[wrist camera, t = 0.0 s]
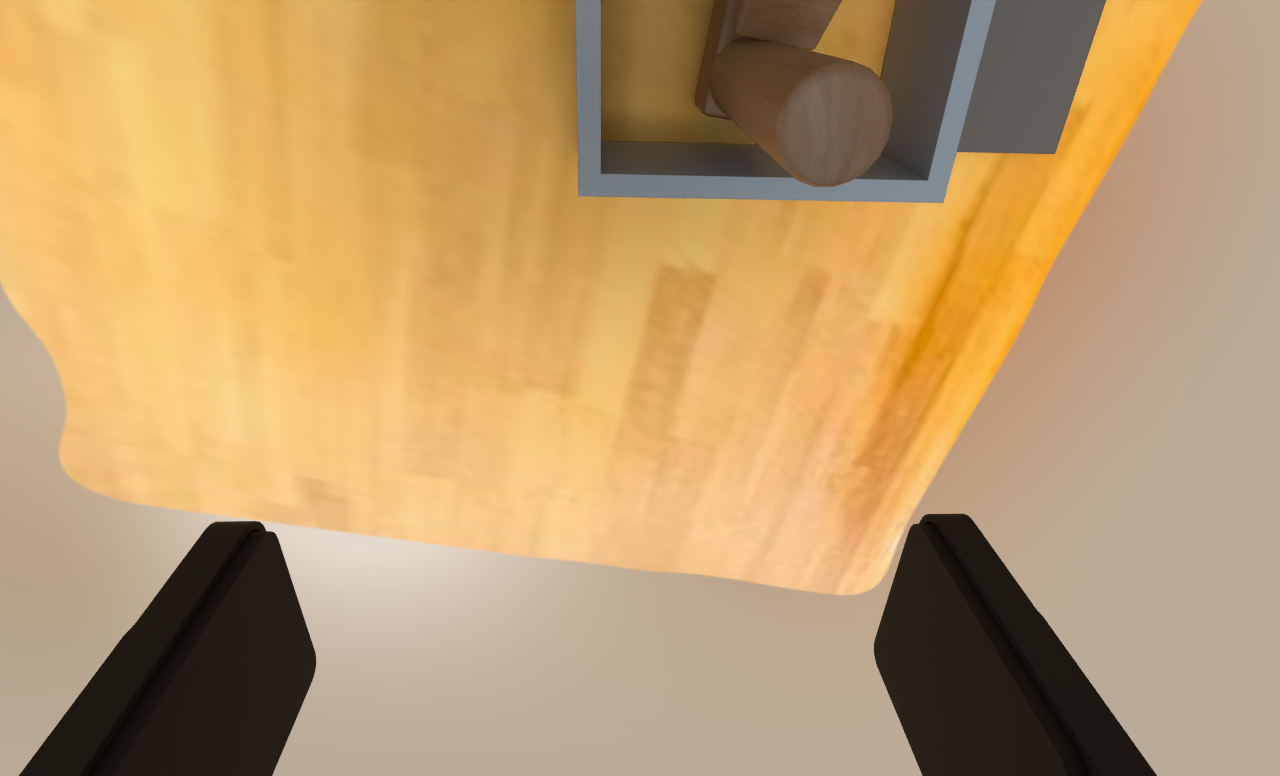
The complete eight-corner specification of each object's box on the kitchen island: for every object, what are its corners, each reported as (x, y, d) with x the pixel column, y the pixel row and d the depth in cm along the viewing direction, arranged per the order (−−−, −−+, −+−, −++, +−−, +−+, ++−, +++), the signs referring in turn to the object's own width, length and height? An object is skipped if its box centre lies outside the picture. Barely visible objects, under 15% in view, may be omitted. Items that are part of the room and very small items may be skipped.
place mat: (982, -171, 30) (991, -175, 30) (1148, -162, 31) (1161, -166, 30) (910, 148, 37) (916, 150, 37) (1046, 151, 38) (1054, 154, 37)
